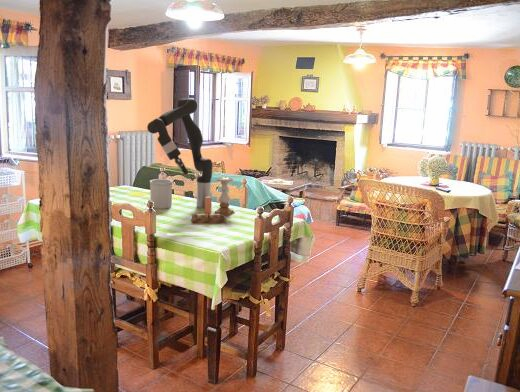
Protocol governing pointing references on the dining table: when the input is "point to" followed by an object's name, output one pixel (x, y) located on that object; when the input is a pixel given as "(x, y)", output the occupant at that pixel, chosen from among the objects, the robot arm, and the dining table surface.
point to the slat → (208, 205)
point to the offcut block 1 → (202, 215)
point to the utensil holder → (161, 193)
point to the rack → (207, 220)
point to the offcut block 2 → (214, 215)
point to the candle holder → (224, 198)
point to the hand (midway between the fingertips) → (186, 173)
